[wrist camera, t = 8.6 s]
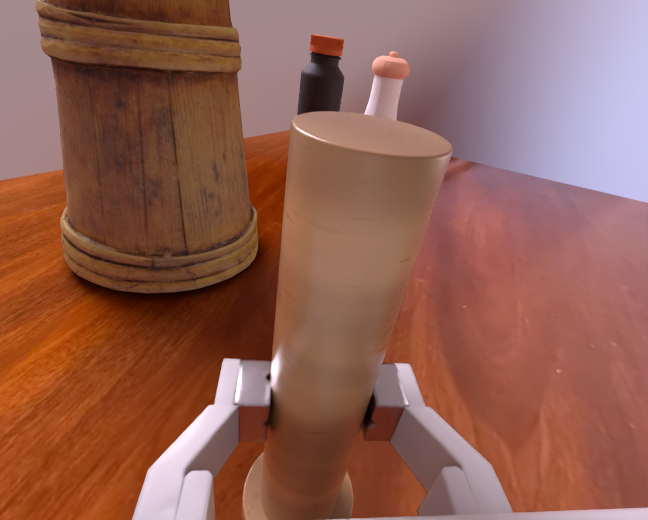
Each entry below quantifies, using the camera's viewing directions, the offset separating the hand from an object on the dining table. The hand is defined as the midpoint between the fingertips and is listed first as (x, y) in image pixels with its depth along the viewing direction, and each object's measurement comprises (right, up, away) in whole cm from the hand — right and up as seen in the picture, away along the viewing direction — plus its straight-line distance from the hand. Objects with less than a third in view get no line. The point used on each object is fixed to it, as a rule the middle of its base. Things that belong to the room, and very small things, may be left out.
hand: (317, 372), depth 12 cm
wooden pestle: (-1, -8, +4) cm, 9 cm away
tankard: (-16, +7, +28) cm, 33 cm away
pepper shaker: (+10, +25, +63) cm, 69 cm away
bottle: (-2, +20, +52) cm, 56 cm away
